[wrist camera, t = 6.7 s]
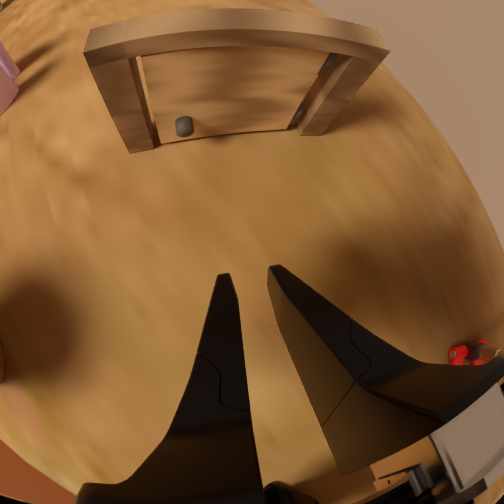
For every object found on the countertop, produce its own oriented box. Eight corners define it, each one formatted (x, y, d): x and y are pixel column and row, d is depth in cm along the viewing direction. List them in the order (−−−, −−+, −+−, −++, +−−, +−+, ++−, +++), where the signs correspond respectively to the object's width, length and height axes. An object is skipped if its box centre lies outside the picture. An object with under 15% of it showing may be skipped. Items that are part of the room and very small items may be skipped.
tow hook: (468, 404, 23) (483, 336, 24) (540, 432, 10) (566, 348, 11) (426, 424, 22) (443, 347, 23) (506, 469, 9) (543, 371, 10)
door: (292, 117, 22) (337, 39, 12) (299, 138, 21) (350, 64, 12) (159, 131, 20) (141, 43, 10) (162, 155, 19) (140, 70, 10)
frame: (315, 116, 23) (377, 29, 11) (321, 135, 22) (390, 50, 11) (129, 132, 20) (90, 29, 9) (129, 153, 20) (83, 52, 8)
